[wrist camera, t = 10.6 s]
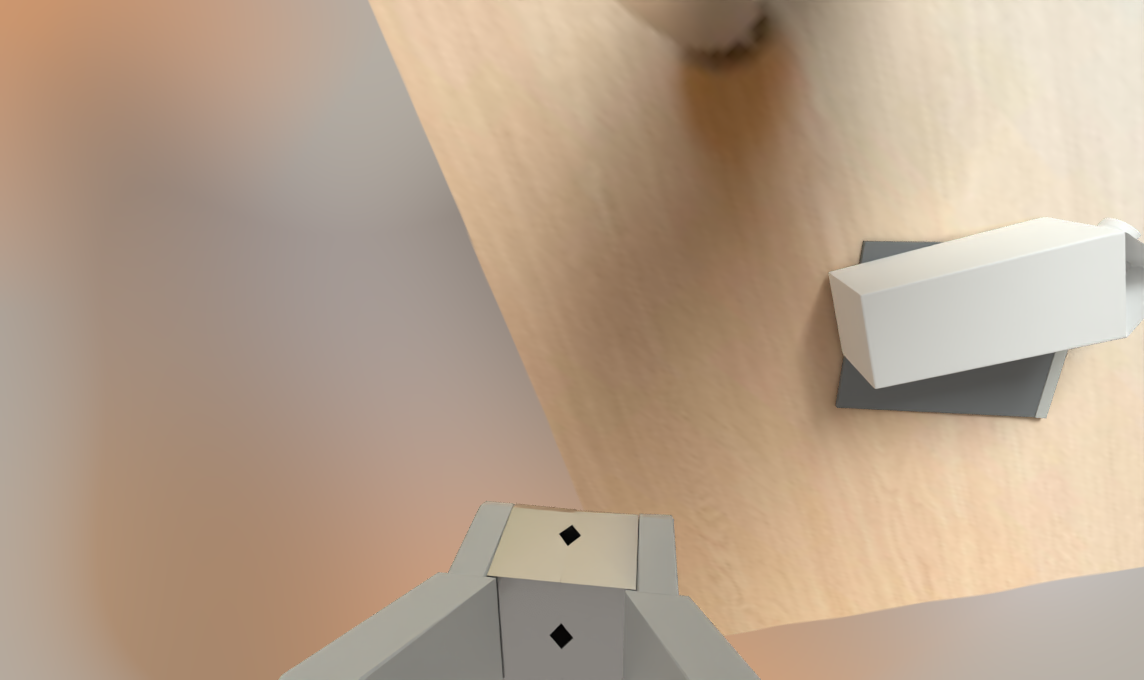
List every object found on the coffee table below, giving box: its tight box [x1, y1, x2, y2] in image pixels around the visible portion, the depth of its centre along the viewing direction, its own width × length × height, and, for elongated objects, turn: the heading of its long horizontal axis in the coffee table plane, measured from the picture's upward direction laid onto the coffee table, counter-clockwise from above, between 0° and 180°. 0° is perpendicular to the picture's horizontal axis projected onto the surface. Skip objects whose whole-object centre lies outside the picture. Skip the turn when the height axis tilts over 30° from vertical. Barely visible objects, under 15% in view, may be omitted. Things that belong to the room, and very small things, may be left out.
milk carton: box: [828, 217, 1144, 389], centre depth 38 cm, size 7×7×19 cm
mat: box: [836, 241, 1068, 418], centre depth 42 cm, size 14×16×1 cm
